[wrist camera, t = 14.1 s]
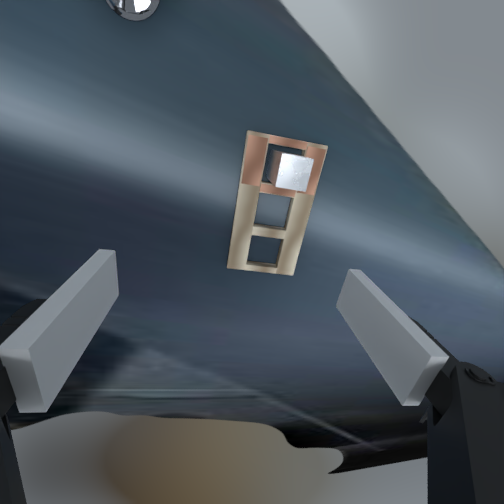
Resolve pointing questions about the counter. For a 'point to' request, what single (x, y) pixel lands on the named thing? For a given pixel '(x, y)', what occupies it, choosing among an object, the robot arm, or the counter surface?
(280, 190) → the hole rail
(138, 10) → the wine glass
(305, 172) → the steel peg
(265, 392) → the counter surface
